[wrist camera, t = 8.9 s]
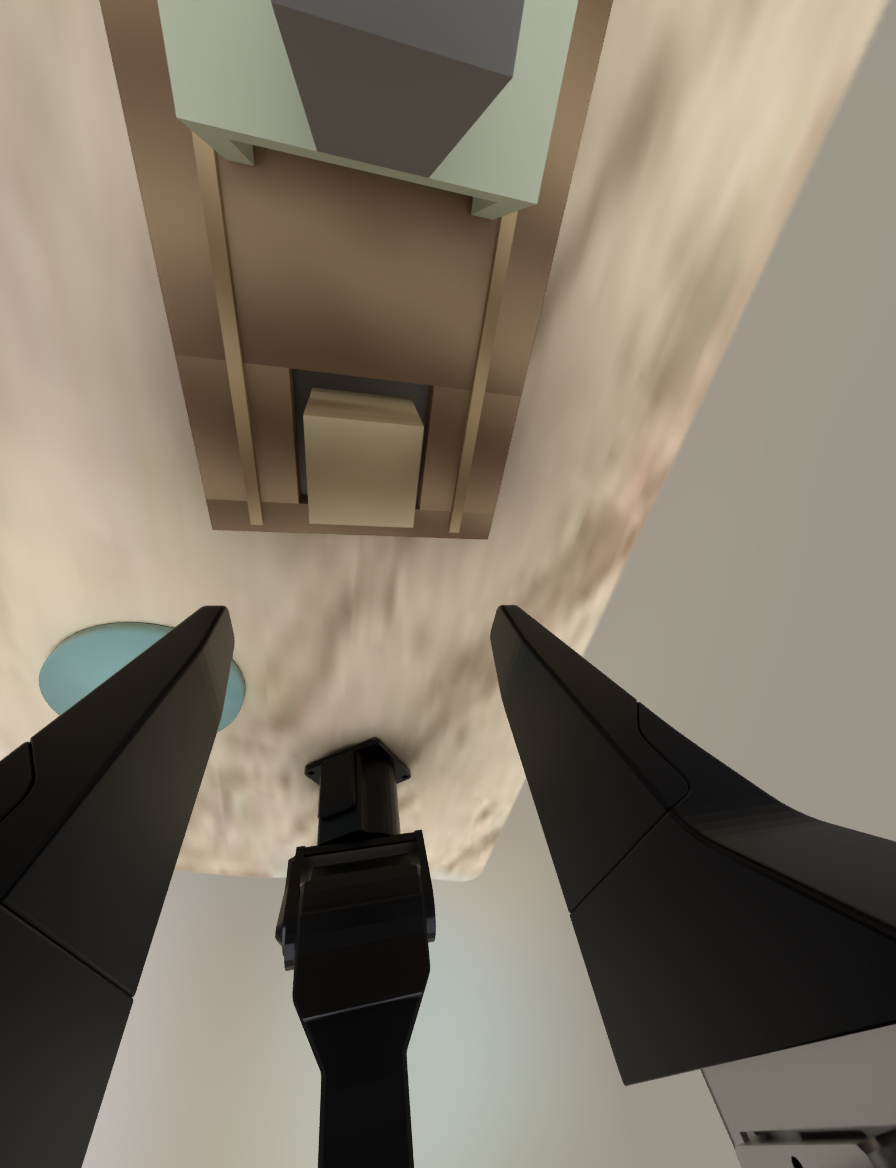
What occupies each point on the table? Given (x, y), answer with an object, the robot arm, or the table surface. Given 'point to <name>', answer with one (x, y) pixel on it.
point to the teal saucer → (111, 665)
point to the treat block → (361, 458)
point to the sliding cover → (378, 86)
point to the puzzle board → (340, 296)
